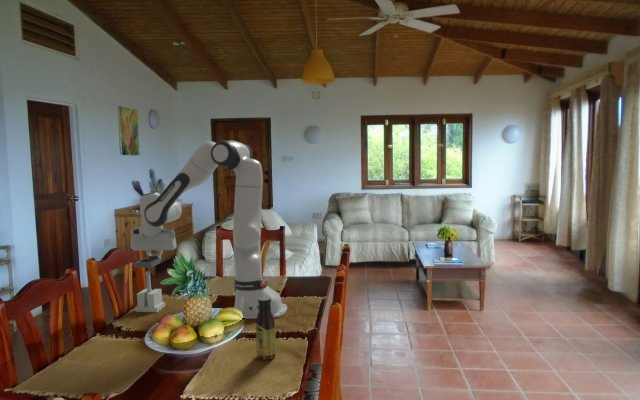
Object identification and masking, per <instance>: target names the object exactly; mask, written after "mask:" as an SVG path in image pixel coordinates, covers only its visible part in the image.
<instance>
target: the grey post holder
mask: <svg viewBox="0 0 640 400" xmlns="http://www.w3.org/2000/svg"><path fill="white" fill-rule="evenodd" d="M144 275H145V277H146V278H145V279H146V288H144V289H143V290H141V291H139V292H138V293H136V301H137V306H135V307H134V308H135V309H134V310H135V312H136V313H158V312H160V311H161V310H163V309H164V308H165V307H166V302H165V301H163V295H162V294H163V293H162V288H154V289H152V284H151V271H150V270H146V271H145V272H144ZM163 307H164V308H163ZM162 308H163V309H162ZM159 310H160V311H159Z"/></svg>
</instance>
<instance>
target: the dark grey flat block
mask: <svg viewBox="0 0 640 400" xmlns="http://www.w3.org/2000/svg"><path fill="white" fill-rule="evenodd" d="M158 254H159V253H158V252H156V253H153V254H151V256H148V257H145V258H143V257H142V258H141V259H139V260H136V261H135V262H133V263H132V264H133V268H153V267H155V266H157V265H159V264H161V263H162V259H161V260H160V258H156V256H158Z"/></svg>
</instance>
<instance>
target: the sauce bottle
mask: <svg viewBox="0 0 640 400" xmlns="http://www.w3.org/2000/svg"><path fill="white" fill-rule="evenodd" d="M258 303H259V312H258V316H257V318H255V319H256V321H255V341H256V342H255V343H256V354H257V355H256V356H257V358H258V359H260V360H262V361H266V360H271V359H274V358H275V357H276V354H277V353H276V350H277V347H276V346H277V345H276V343H277V341H276V325H275V324H276V322H275V320H276V319H275V317H274V316H273V314H272V313H271V305H270V303H271V298H270V297H268V296H263V297H260V298H259V299H258Z"/></svg>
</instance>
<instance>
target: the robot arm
mask: <svg viewBox="0 0 640 400" xmlns="http://www.w3.org/2000/svg"><path fill="white" fill-rule="evenodd" d="M218 167H222V168H225V169H226V170H229V171H234V174H235V187H234V205H233V208H234V209H233V210H234V211H233V223H232V224H233V226H232V238H233V239H232V242H233V257H234V258H233V259H234V277H235V278H234V282H233V283H234V284H233V285H234V287H233V288H234V292H235V299H234V307H233V309H234V308H237V309H239V310H240V311H241V312H242V314H243V316H244V318H245V319H244V320H250V319H257V316H258V312H259V303H258V299H259V298H260V297H263V296H268V297H270V298H271V303H270V305H271V313H272V314H273V316H274V318H279V317H282V316H284V315H285V313H287V311H288V306H287V304H286V303H283V302H282V298H281V295H280V294H279V293H278V292H277V291H276V290H274V289H273V288H271V287H270V286H268V278H265V277H264V276H263V272H262V271H263V270H262V269H263V268H262V266H263V265H262V255H261V238H262V237H261V235H262V208H263V207H262V205H263V204H262V203H263V190H264V189H263V188H264V187H263V186H264V177H263V176H264V174H263V168H262V164H261V162H260V161H259V160H257V159H254V158H253V151H252V149H251V147H250V146H249V145H248V144H246V143H245V142H241V141H237V140H227V139H226V140H225V139H223V140H219V141H216V142H215V141H212V140H206V141H205V142H203V143H202V144H201V145H200V146H199V147H198V148H197V149H196V150H195V151H194V152H193V154H192V155H191V156H190V158H189V159H188V160H187V162H186V163H185V165H184V166H183V167H182V168H181V170H180V171H179V172H178V174H177V175H176V176H175V177H174V178H173V179H172V180H171V182H169V184H168V185H167V186H166V188H165V189H164V190H163V191H161V192H162V193H159V192H157V191H156V192H150V193H149V192H148V193H144V194H142V195H141V196H140V199H139V214H140V217H141V220H140V221H141V222H140V225H139V226H138V227H136V228H134V229H131V230H130V234H131V236H130V239H129V240H130V242H129V243H130V249H131V250H132V251H135V252H136V251H138V252H139V251H145V254H146V256H148V257H149V256H151V255H152V253H151V252H152V251H156V252H157V253H159V254H158V256H156V258H160V260H161V261H162V254H163V252H164V251H174V250H175V249H177V247H178V246H177V240H176V232H175V231H174V230H173V229H172V228H164V226H163V225H164V224H168V223H172V222H175V221H176V220H179V219H180V218H181V216H182V215H183V207H182V204H181V203H180V202H179V200H178V199H179V198H180V197H181V196H182V195H183V194H184V193H186V192H187V191H189V190H191V189H193V188H195V187H198V186H202V185H203V184H204V183H205V182H206V181H207V180H208V179H209V178H210V177H211V176H212V175H213V173H214V172H215V170H216V169H217V168H218Z"/></svg>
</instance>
